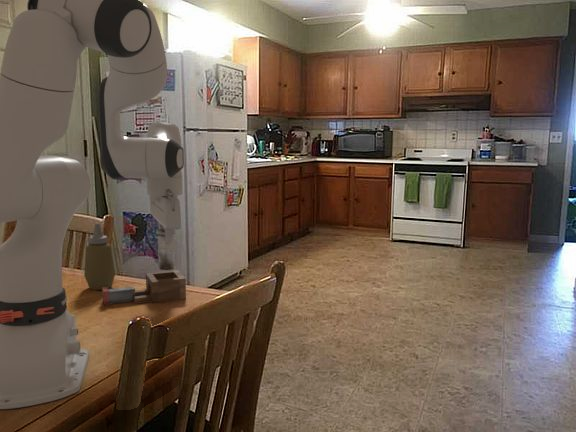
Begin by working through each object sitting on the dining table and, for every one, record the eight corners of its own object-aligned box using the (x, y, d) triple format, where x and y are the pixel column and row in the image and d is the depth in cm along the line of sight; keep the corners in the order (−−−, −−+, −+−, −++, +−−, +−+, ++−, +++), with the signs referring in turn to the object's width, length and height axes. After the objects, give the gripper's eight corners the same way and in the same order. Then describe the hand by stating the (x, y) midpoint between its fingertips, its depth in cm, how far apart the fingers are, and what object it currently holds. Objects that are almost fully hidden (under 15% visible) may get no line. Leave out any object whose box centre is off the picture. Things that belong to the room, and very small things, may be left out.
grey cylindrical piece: (177, 269, 133) (177, 231, 131) (158, 271, 131) (158, 233, 129) (173, 264, 137) (173, 228, 136) (155, 266, 136) (154, 229, 134)
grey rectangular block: (135, 301, 131) (135, 288, 130) (104, 305, 128) (103, 291, 127) (133, 297, 134) (132, 284, 133) (102, 301, 131) (102, 287, 130)
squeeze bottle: (122, 285, 144) (119, 222, 141) (100, 293, 137) (97, 227, 133) (100, 281, 147) (97, 219, 144) (78, 289, 140) (74, 224, 137)
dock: (186, 298, 134) (185, 278, 133) (135, 305, 128) (135, 284, 127) (178, 289, 142) (177, 269, 141) (130, 294, 136) (129, 274, 135)
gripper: (187, 192, 123) (187, 248, 125) (169, 182, 141) (169, 231, 143) (160, 193, 120) (161, 250, 122) (145, 183, 138) (147, 233, 141)
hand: (166, 240), depth 133 cm, fingers closed on grey cylindrical piece, 4 cm apart
